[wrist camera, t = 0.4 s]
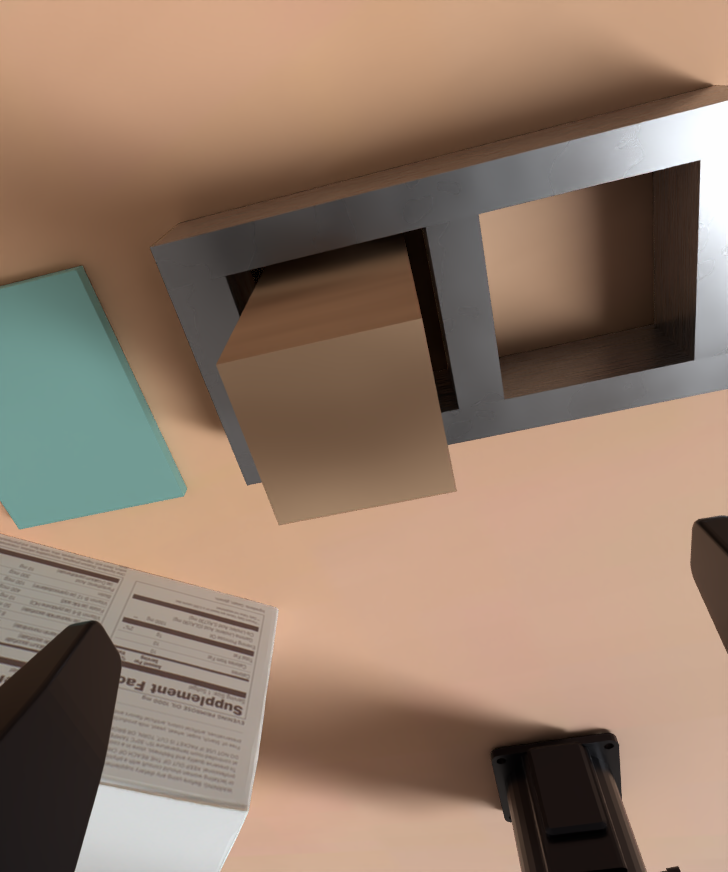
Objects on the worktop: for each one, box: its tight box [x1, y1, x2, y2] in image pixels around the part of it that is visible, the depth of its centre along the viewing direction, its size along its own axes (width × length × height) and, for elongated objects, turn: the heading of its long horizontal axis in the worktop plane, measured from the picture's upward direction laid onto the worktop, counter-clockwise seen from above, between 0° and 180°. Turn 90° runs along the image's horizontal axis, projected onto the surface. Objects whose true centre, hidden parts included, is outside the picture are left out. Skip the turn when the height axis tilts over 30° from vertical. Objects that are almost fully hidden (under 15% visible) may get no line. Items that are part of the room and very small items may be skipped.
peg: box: [216, 233, 457, 525], centre depth 17 cm, size 4×4×8 cm
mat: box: [0, 266, 187, 529], centre depth 22 cm, size 9×7×1 cm
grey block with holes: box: [150, 85, 728, 485], centre depth 19 cm, size 8×16×3 cm, turn 104°
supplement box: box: [0, 534, 279, 872], centre depth 27 cm, size 17×13×9 cm
